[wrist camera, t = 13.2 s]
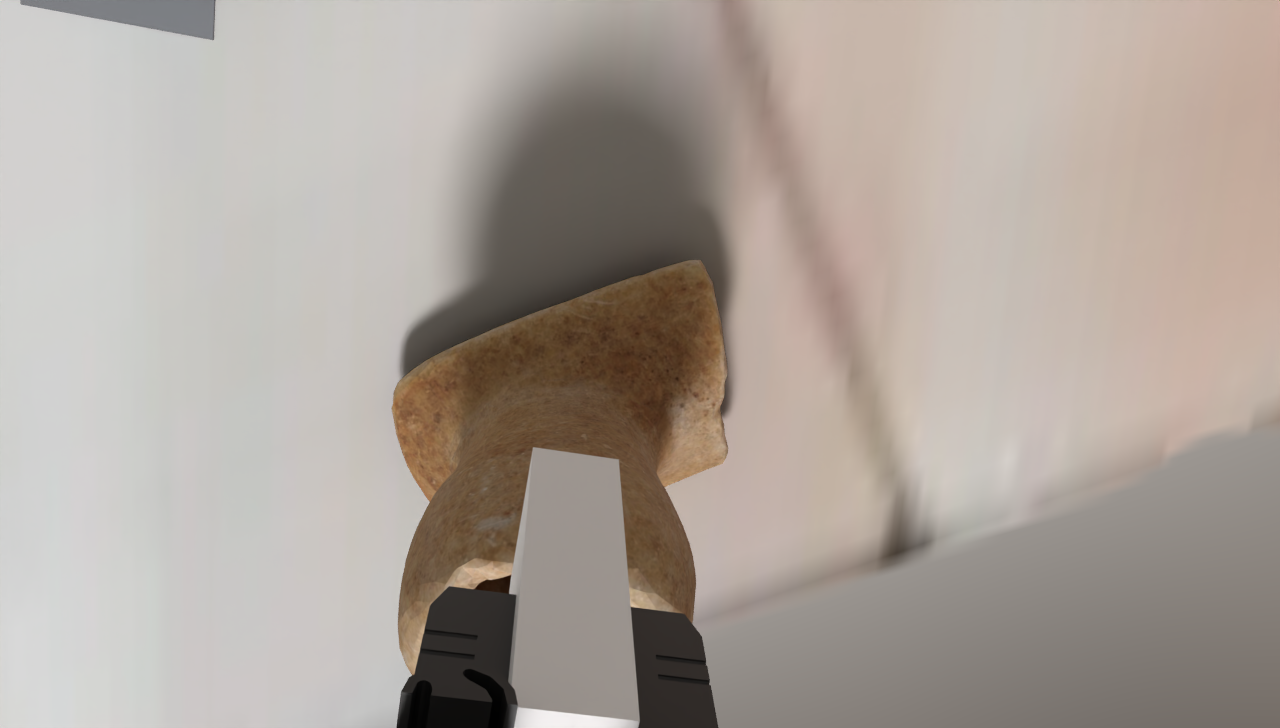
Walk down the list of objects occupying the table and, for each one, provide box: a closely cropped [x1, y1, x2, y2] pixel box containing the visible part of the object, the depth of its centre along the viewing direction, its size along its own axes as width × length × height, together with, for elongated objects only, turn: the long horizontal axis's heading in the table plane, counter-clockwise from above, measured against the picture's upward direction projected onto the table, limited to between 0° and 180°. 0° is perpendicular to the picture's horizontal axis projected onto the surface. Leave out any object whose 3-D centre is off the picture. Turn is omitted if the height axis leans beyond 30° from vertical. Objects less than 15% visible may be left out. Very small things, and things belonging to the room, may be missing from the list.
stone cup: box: [392, 260, 728, 675], centre depth 39 cm, size 15×12×15 cm
